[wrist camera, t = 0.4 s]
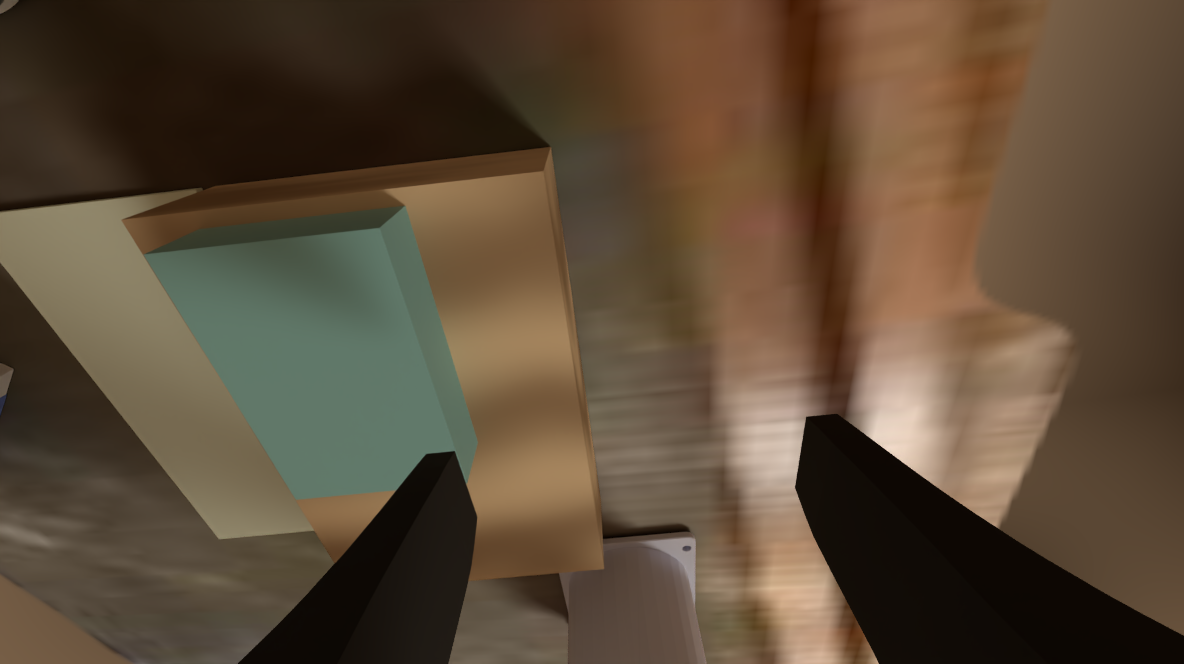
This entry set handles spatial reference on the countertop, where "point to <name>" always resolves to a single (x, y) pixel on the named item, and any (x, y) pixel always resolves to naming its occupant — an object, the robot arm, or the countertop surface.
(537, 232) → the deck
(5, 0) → the supplement bottle
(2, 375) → the walkman
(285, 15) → the countertop surface
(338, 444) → the sage green box
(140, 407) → the mat
